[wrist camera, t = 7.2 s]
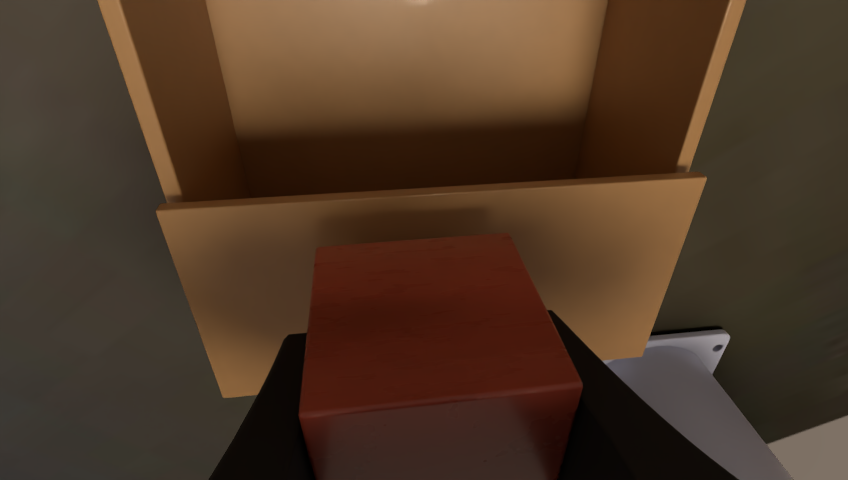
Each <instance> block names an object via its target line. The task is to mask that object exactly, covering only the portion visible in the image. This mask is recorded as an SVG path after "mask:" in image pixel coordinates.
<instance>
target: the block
mask: <svg viewBox="0 0 848 480" xmlns="http://www.w3.org/2000/svg"><path fill="white" fill-rule="evenodd" d="M582 389H583V383H582V380H581V378H580V376H579V374H578V372H577V370H576V368H575V366H574V364H573V362H572V360H571V358H570V356H569V354H568V352H567V350H566V348H565V346H564V344H563V342H562V340H561V338H560V336H559V334H558V331H557V329H556V327H555V325H554V323H553V321H552V319H551V317H550V315H549V313H548V311H547V309H546V307H545V305H544V303H543V301H542V299H541V297H540V295H539V293H538V291H537V289H536V287H535V285H534V283H533V281H532V278H531V276H530V274H529V272H528V270H527V268H526V266H525V264H524V262H523V260H522V258H521V256H520V254H519V252H518V250H517V248H516V246H515V244H514V242H513V240H512V238H511V236H510V234H509V233H506V232H505V233H492V234H479V235H466V236H453V237H440V238H427V239H414V240H400V241H387V242H374V243H361V244H348V245H335V246H322V247H317V248H316V251H315V259H314V268H313V278H312V288H311V297H310V307H309V316H308V326H307V336H306V345H305V355H304V365H303V374H302V384H301V393H300V403H299V413H298V416H299V420H300V424H301V428H302V432H303V436H304V440H305V444H306V449H307V453H308V457H309V461H310V465H311V469H312V473H313V477H314V480H558V477H559V474H560V470H561V466H562V463H563V459H564V455H565V452H566V448H567V444H568V441H569V437H570V433H571V430H572V426H573V422H574V418H575V415H576V411H577V407H578V404H579V400H580V396H581V393H582Z"/></svg>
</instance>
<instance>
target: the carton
mask: <svg viewBox="0 0 848 480" xmlns="http://www.w3.org/2000/svg"><path fill="white" fill-rule="evenodd" d="M97 1H98V3H99V6H100V9H101V12H102V15H103V18H104V21H105V24H106V27H107V30H108V33H109V35H110V38H111V41H112V44H113V47H114V50H115V53H116V56H117V59H118V62H119V65H120V67H121V70H122V73H123V76H124V79H125V82H126V85H127V88H128V91H129V94H130V97H131V99H132V102H133V105H134V108H135V111H136V114H137V117H138V120H139V123H140V126H141V129H142V131H143V134H144V137H145V140H146V143H147V146H148V149H149V152H150V155H151V158H152V161H153V163H154V166H155V169H156V172H157V175H158V178H159V181H160V184H161V187H162V190H163V193H164V196H165V198H166V201H167V203H162V204H160V205H159V206H158V208H157V209H156V214H157V217H158V220H159V223H160V225H161V228H162V231H163V234H164V236H165V239H166V242H167V245H168V247H169V250H170V253H171V256H172V258H173V261H174V264H175V267H176V269H177V272H178V275H179V278H180V280H181V283H182V286H183V289H184V292H185V294H186V297H187V300H188V303H189V305H190V308H191V311H192V314H193V316H194V319H195V322H196V325H197V327H198V330H199V333H200V336H201V338H202V341H203V344H204V347H205V349H206V352H207V355H208V358H209V360H210V363H211V366H212V369H213V371H214V374H215V377H216V380H217V382H218V385H219V388H220V391H221V393H222V396H223V398H230V397H240V396H250V395H258V393H259V391H260V389H261V387H262V386H263V384H264V382H265V380H266V378H267V376H268V373H269V371H270V369H271V367H272V365H273V363H274V361H275V358H276V356H277V354H278V352H279V349H280V347H281V345H282V342H283V340H284V338H286V337H287V336H288V335H289V334H298V333H307V326H308V316H309V307H310V297H311V288H312V278H313V268H314V259H315V251H316V248H317V247H322V246H335V245H348V244H361V243H374V242H387V241H400V240H414V239H427V238H440V237H453V236H466V235H479V234H492V233H505V232H506V233H509V234H510V236H511V238H512V240H513V242H514V244H515V246H516V248H517V250H518V252H519V254H520V256H521V258H522V260H523V262H524V264H525V266H526V268H527V270H528V272H529V274H530V276H531V278H532V281H533V283H534V285H535V287H536V289H537V291H538V293H539V295H540V297H541V299H542V301H543V303H544V305H545V307H546V309H547V310H552V311H553V312H554V313H555V314H556V315H557V316H558V317H559V318H560V319H561V320H562V321H563V322H564V323H565V324H566V325H567V326H568V327H569V328H570V329H571V330H572V331H573V332H574V333H575V334H576V335H577V336H578V337H579V338H580V339H581V340H582V341H583V342H584V343H585V344H586V345H587V346H588V347H589V348H590V349H591V350H592V351H593V352H594V353H595V354H596V355H597V356H598V357H599V358H600V359H601V360H602V361H604V360H614V359H624V358H634V357H642V356H643V353H644V350H645V348H646V345H647V342H648V339H649V337H650V334H651V331H652V328H653V326H654V323H655V320H656V317H657V315H658V312H659V309H660V306H661V304H662V301H663V298H664V295H665V293H666V290H667V287H668V284H669V282H670V279H671V276H672V273H673V271H674V268H675V265H676V262H677V259H678V257H679V254H680V251H681V248H682V246H683V243H684V240H685V237H686V235H687V232H688V229H689V226H690V224H691V221H692V218H693V215H694V213H695V210H696V207H697V204H698V202H699V199H700V196H701V193H702V191H703V188H704V185H705V182H706V180H707V177H706V176H704V175H703V174H702V173H700V172H689V169H690V166H691V163H692V160H693V157H694V154H695V151H696V148H697V145H698V142H699V139H700V136H701V133H702V130H703V127H704V125H705V122H706V119H707V116H708V113H709V110H710V107H711V104H712V101H713V98H714V95H715V92H716V89H717V86H718V83H719V80H720V77H721V74H722V71H723V68H724V65H725V62H726V59H727V56H728V53H729V50H730V47H731V44H732V41H733V38H734V35H735V32H736V29H737V27H738V24H739V21H740V18H741V15H742V12H743V9H744V6H745V3H746V0H97Z"/></svg>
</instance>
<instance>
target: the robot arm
mask: <svg viewBox="0 0 848 480" xmlns="http://www.w3.org/2000/svg"><path fill="white" fill-rule="evenodd" d="M547 311H548V313H549V315H550V317H551V319H552V321H553V323H554V325H555V327H556V329H557V331H558V334H559V336H560V338H561V340H562V342H563V344H564V346H565V348H566V350H567V352H568V354H569V356H570V358H571V360H572V362H573V364H574V366H575V368H576V370H577V372H578V374H579V376H580V378H581V380H582V383H583V389H582V393H581V396H580V400H579V404H578V407H577V411H576V415H575V418H574V422H573V426H572V430H571V433H570V437H569V441H568V444H567V448H566V452H565V455H564V459H563V463H562V466H561V470H560V474H559V477H558V480H793V478H792V477H791V476H790V474H789V473H788V472H787V471H786V469H785V468H784V467H783V465H782V464H781V463H780V462H779V460H778V459H777V458H776V456H775V455H774V454H773V453H772V451H771V450H770V449H769V448H768V446H767V445H766V444H765V442H764V441H763V440H762V438H761V437H760V436H759V435H758V433H757V432H756V431H755V429H754V428H753V427H752V426H751V424H750V423H749V422H748V420H747V419H746V418H745V417H744V415H743V414H742V413H741V411H740V410H739V409H738V408H737V406H736V405H735V404H734V402H733V401H732V400H731V399H730V397H729V396H728V395H727V393H726V392H725V391H724V390H723V388H722V387H721V386H720V384H719V383H718V382H717V381H716V379H715V378H714V377H713V375H712V374H713V372H714V370H715V368H716V366H717V364H718V362H719V360H720V358H721V356H722V354H723V352H724V350H725V348H726V346H727V344H728V342H729V339H730V336H729V334H728V333H727V332H726V331H725V330H721V329H718V330H708V331H697V332H686V333H676V334H665V335H655V336H650V337H649V339H648V342H647V345H646V348H645V350H644V353H643V356H642V357H634V358H624V359H614V360H604V361H602V360H601V359H600V358H599V357H598V356H597V355H596V354H595V353H594V352H593V351H592V350H591V349H590V348H589V347H588V346H587V345H586V344H585V343H584V342H583V341H582V340H581V339H580V338H579V337H578V336H577V335H576V334H575V333H574V332H573V331H572V330H571V329H570V328H569V327H568V326H567V325H566V324H565V323H564V322H563V321H562V320H561V319H560V318H559V317H558V316H557V315H556V314H555V313H554V312H553V311H552V310H547ZM306 336H307V333H298V334H289V335H288V336H287V337H286V338H284V340H283V342H282V345H281V347H280V349H279V352H278V354H277V356H276V358H275V361H274V363H273V365H272V367H271V369H270V371H269V373H268V376H267V378H266V380H265V382H264V384H263V386H262V387H261V389H260V391H259V393H258V395H257V397H256V399H255V401H254V403H253V405H252V407H251V408H250V410H249V412H248V414H247V416H246V417H245V419H244V421H243V423H242V425H241V426H240V428H239V430H238V432H237V434H236V435H235V437H234V439H233V441H232V442H231V444H230V446H229V447H228V449H227V451H226V452H225V454H224V455H223V457H222V459H221V460H220V462H219V464H218V465H217V467H216V468H215V470H214V472H213V473H212V475H211V476H210V478H209V480H314V477H313V473H312V469H311V465H310V461H309V457H308V453H307V449H306V444H305V440H304V436H303V432H302V428H301V424H300V420H299V416H298V413H299V403H300V393H301V384H302V374H303V365H304V355H305V345H306Z"/></svg>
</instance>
